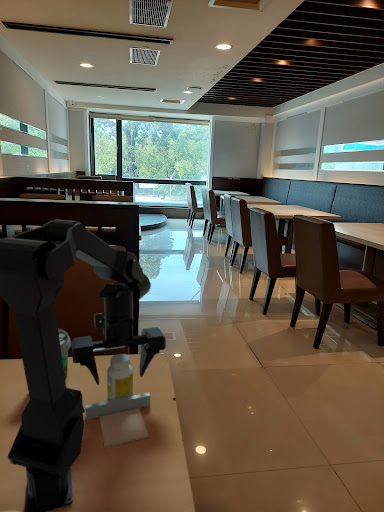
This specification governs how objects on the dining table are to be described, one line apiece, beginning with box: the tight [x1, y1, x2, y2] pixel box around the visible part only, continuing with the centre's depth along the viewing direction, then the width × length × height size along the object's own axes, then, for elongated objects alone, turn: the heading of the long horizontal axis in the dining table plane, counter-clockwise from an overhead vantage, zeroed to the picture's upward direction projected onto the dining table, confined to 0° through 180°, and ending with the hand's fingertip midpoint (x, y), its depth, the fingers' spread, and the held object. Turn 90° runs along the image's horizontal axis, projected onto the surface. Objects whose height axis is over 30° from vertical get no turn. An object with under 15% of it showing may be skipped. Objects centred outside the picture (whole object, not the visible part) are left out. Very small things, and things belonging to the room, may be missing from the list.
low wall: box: [84, 392, 151, 420], centre depth 70 cm, size 1×13×2 cm, turn 111°
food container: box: [58, 328, 72, 380], centre depth 79 cm, size 12×6×10 cm, turn 164°
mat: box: [99, 408, 149, 449], centre depth 66 cm, size 8×8×1 cm
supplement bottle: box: [106, 353, 134, 401], centre depth 73 cm, size 5×5×10 cm
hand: (119, 379), depth 73 cm, fingers open, 9 cm apart
